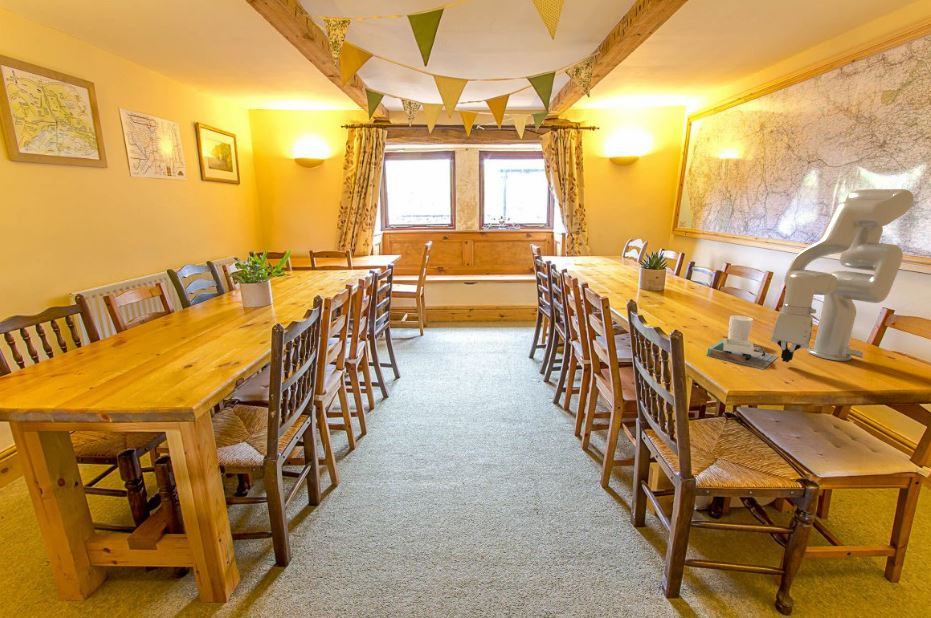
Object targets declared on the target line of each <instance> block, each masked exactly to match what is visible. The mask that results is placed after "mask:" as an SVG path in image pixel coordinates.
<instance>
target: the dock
mask: <svg viewBox="0 0 931 618" xmlns="http://www.w3.org/2000/svg"><path fill="white" fill-rule="evenodd" d="M723 341H724V339H722V340H721V341H718V342H717V343H715V344H713V345H711V346H710V347H709V348H708V349H707V353H706V356H707V357H709V358H716V359H719V360H722V361H727V362H731V363H735V364H737V365H743V366H747V367H751V368H755V369H759V370H765V369H766V368H767V367H769V365H771V364H772V363H773V362H774V361H775V360H777V358H779V356H778V355H774V354H771V353H768V352H765V354H766V355H765V356H761V355H754V354H753V355H751V358H750V359H749V360H745V359H746V357H745V356H743V355H742V353H738V352H732V353H728V352H724V351H723ZM753 346H754V347H758V348H761V346H760V345H756V344H753ZM753 352H760V351H759V350H754V351H753ZM760 353H761V352H760Z"/></svg>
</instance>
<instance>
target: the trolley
mask: <svg viewBox="0 0 931 618" xmlns="http://www.w3.org/2000/svg"><path fill="white" fill-rule="evenodd" d="M723 340H724V341H723V351H724V352H728V353H732V352H738V353H742V355H743V356H745V357H746V359H745V360H749V359H750V358H751V355H753V354H754V355H761V356H765V355H766V354H765V353H766V352H765V348H764V347H760V348H758V347H754V346H753V345H754V343H753V341H749V340H748V341H741V340H734V339H728V337H727V338H726V337H725V338H723ZM754 350H759V351H760V352H761V353H760V352H753V351H754Z"/></svg>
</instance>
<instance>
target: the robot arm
mask: <svg viewBox="0 0 931 618" xmlns="http://www.w3.org/2000/svg"><path fill="white" fill-rule="evenodd" d="M913 204H914V194H913V192H912V191H910V190H909V189H906V188H890V189H889V188H884V189H883V188H873V189H871V188H870V189H869V188H868V189H867V188H866V189H858V190H853V191H851V192H850V193H848V195H847V196H846V198H845V201H843V202H840V203H838V205H837V206H836V207H835V209H834V211H833V213H832V214H831V216H830V219H829V220H828V222H827V225H826V226H825V228H824V230H823V231H822V233H821V236H820V237H819V239H818V241H816V242H815V243H812V244H811V245H810V246H807V247H805V248H804V249H803V250H802V251H801V252H799V253H798V254H797V255H796V256H795V257H794V258H793V260H792V261H791V263H790V265H789V266H788V269H787V271H786V274H785V276H784V280H783V281H784V282H783V283H784V286H785V287H786V288H785V293H784V298H783V304H782V308H781V310H779V312H778V314H777V316H776V319H775V322H774V326H773V329H772V334H771V335H772V336H771V339H770V342H772V343H775V344H777V345H778V346H779V348H780V349H781V350H782V351H781V355H780V358H781V359H782V360H781V361H782V362H785V363H789V362H790V361H792V360H793V357H794V352H795V351H797V350H799V349H806V350H807V352H808V353H809V354H811V355H812V356H814V357H817V358H821V359H826V360H829V361H831V360H832V361H838V362H839V361H843V362H845V361H850V360H852V357H853V356H854V357H857V358H863V357H864V352H862V351H860V350H857V349H856V350H855V349H852V348H851V345H850V341H851V338H852V337H851V336H852V333H853V328H854V325H855V324H854V323H855V320H856V316H857V307H856V306H855V303H854V302H853V301H859V302H865V303H870V304H878V303H882V302H883V301H885V300H886V299H887V297H888V295H889V294H890V292H891V289H892V287H893V284H894V282H895V281H896V277H897V275H898V272H899V270H900V267H901V265H902V261H903V257H904V254H903V253H904V252H903V250H902V248H901V247H900V246H898V245H897V244H896V245H895V244H893V243H892V244H890V243H880V240H881V238H882V235H883V233H884V229H883V227H885V226H888V225H889V224H891V223H894V222H895V220H897V219H899V218H901V217H902V216H904V215H905V214H907V213H908V212H909V210H910V209H911V207H912V206H913ZM838 253H839V254H840V253H841V254H840V257H839V262H840V264H841V266H843V267H845V268H850V269H854V270H855V269H856V270H861V271H863V270H864V271H870V272H871V271H872V272H874V273H873V274H872V273H871V274H870V273H865V272H864V273H863V272H856V271H848V270H837V271H836V270H835V271H833V272H823V271H816V270H811V269H810V270H809V269H806V268H807V267H808V265H810V264H811V263H813V262H814V261H815V260H818V259H819V258H822V257H823V258H824V257H827V256H830V255H834V254H838ZM814 295H815V296H817V295H818V296H823V301H822V302H823V303H822V307H821V308H822V309H821V313H820V318H819V321H818V322H819V323H818V327H817V331H816V334H815V340H814V344H813V346H811V347H810V341H811V338H812V334H813V333H812V331H813V322H814V321H813V320H814V319H813V315H812V314H816V313H817V309H814V308H813V307H812V304H813V301H814V300H813V299H814ZM788 344H791V346H790V348H789V347H788Z"/></svg>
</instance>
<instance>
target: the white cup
mask: <svg viewBox="0 0 931 618" xmlns="http://www.w3.org/2000/svg"><path fill="white" fill-rule="evenodd" d="M753 322H754V319H753V318H752V317H748V316H744V315H730V317H729V324H728V337H727V339H734V340H741V341H748V342H749V337H750V334H751V329H752V325H753Z"/></svg>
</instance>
